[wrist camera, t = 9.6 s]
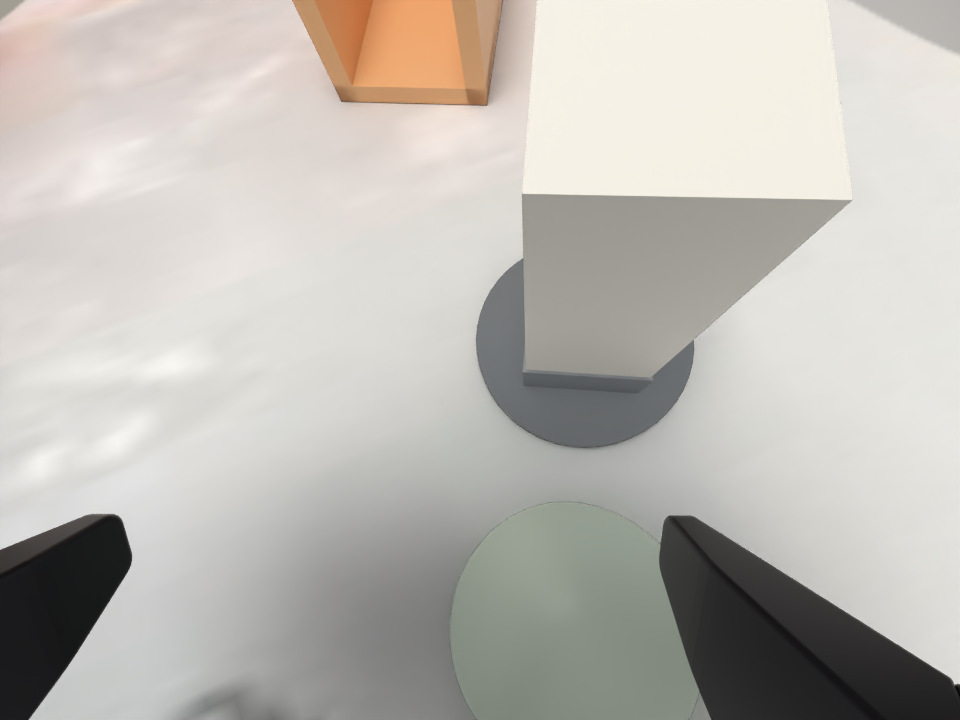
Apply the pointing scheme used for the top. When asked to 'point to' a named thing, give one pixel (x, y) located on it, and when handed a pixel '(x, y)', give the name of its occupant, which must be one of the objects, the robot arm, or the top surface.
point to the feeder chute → (405, 48)
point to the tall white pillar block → (667, 173)
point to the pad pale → (568, 622)
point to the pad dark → (557, 409)
